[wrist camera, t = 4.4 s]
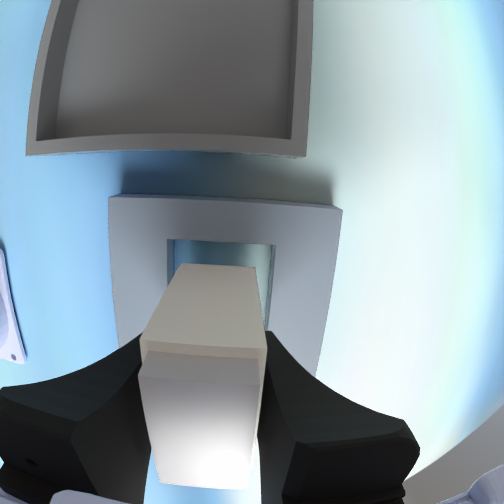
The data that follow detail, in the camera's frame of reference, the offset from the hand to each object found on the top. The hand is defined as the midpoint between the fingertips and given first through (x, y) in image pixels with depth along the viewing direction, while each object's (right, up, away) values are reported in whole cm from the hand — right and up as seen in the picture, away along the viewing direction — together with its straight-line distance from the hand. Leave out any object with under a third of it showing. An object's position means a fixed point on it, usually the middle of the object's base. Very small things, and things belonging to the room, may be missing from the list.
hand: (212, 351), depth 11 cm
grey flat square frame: (0, +1, +4) cm, 5 cm away
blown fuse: (0, +1, +2) cm, 2 cm away
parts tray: (-2, +15, +1) cm, 15 cm away
